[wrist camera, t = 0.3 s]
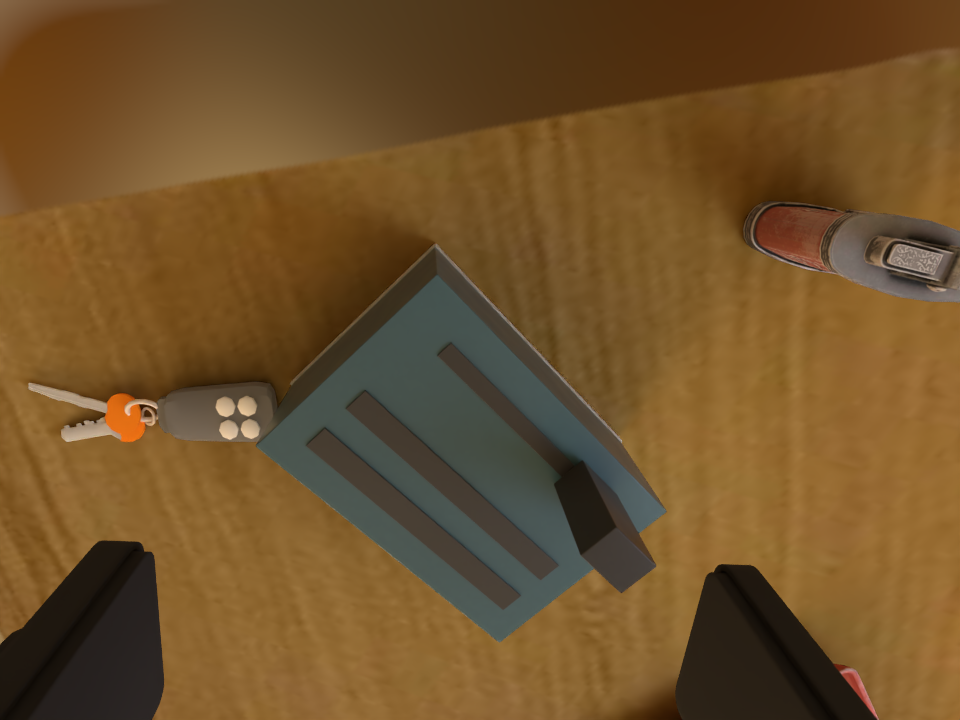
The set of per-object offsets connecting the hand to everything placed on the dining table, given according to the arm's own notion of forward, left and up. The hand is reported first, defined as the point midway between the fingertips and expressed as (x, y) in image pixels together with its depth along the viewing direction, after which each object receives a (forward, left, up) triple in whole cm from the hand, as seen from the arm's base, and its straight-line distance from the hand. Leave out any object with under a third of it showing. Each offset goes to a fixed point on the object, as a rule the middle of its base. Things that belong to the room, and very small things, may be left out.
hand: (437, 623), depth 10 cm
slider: (0, +10, -16) cm, 19 cm away
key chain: (+15, -6, -24) cm, 29 cm away
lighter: (-18, +12, -24) cm, 32 cm away
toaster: (+3, +6, -24) cm, 25 cm away
